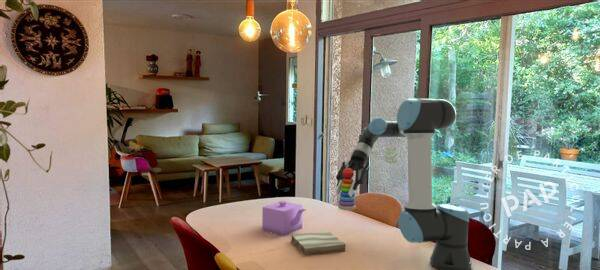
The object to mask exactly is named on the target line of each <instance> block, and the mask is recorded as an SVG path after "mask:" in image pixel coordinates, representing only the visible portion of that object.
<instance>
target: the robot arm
mask: <svg viewBox="0 0 600 270" xmlns="http://www.w3.org/2000/svg"><path fill="white" fill-rule="evenodd" d="M456 119H457V112H456V108H455V106H454V105H453V104H452V103H451V102H450V101H448V100H447V99H441V98H419V97H417V98H416V97H415V98H408V99H405V100H403V101H402V102H401V104H400V105H399V106H398V110H397V113H396V120H394V121H393V120H385V119H384V118H382V117H374V118H373V119H372V120H371V121H370V122H369V123H368V125H367V126H365V127H364V128H363V130H362V131H361V133H360V136H359V137H358V141H357V142H356V145H355V147H354V150H353V151H352V153H351V156H350V159H349V161H348V162H345V161H342V163H341V166H340V168H339V170H338V172H337V174H336V176H335V180H337V183H336V189H335V190H334V192H335V194H336V195H337V196H339V195H340V193H341V188H342V186H341V185H342V183H343V181H342V180H343V179H344V176H343V170H344V169H346V168H351V169H352V170H353V172H355V176H354V177H355V179H354V181H353V183H352V185H351V188H350V190H349V192H348V194H349V196H350V197H352V195H353V192H354V193H355V191H357V188H358V186H360V185H364V182H365V180H366V177H367V174H368V172H369V170H370V168H371V167H370V165H369V164H368V163H367V161H368V158H369V156H370V154H371V151H372V149H373V146H374V145H375V143H376V142H377V141H378V140H379V138H406V139H407V174H408V175H407V179H408V180H407V181H408V182H407V183H408V184H407V186H408V187H407V188H408V191H407V192H408V202H407V203H406V204H405V205H404V211H402V212H400V214H399V216H398V227H399V230H400V233H401V234H402V236H403V238H404V239H405V240H406V241H407V242H408V243H414V244H415V243H418V244H422V243H430V242H431V243H432V242H435V244H434V248H433V249H432V253H431V255H430V258H429V260H430V261H429V262H430V265H431V266H432V267H434V268H436V269H438V270H470V269H471V270H472V264H473V263H472V259H471V255H470V252H469V249H468V244H469V243H468V241H469V223H470V217H469V215H470V214H469V212H468V210H467V209H466V208H463V207H460V206H456V205H451V204H443V203H442V204H441V203H440V204H438V205H437V206H436V204H434V202H433V185H432V183H433V181H432V180H433V178H432V177H433V176H432V175H433V173H432V171H433V170H432V138H433V137H434V136H435V135H436V130H442V129H443V130H444V129H447V128H449V127H451V126H452V125H453V124H454V123H455V121H456ZM366 163H367V164H366Z"/></svg>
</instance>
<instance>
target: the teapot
mask: <svg viewBox="0 0 600 270" xmlns="http://www.w3.org/2000/svg"><path fill="white" fill-rule="evenodd" d="M305 211H307V209H306V208H304V207H303V204H297V203H293V202H290V201H286V200H279V201H277V202H274V203H271V204H267V205H265V206H262V223H261V225H262V227H261V228H262V230H264V231H263V232H265V231H268V232H267V233H269V232H272V233H271V234H274V233H275V234H274V235H278V234H279V235H278V236H282V235H283V236H282V237H285V236H287V235H290V234H292V233H294V232H297V231H299V230H301V229H303V216H304V215H303V212H305ZM296 230H297V231H296ZM289 233H290V234H289Z"/></svg>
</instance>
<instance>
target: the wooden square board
mask: <svg viewBox="0 0 600 270" xmlns="http://www.w3.org/2000/svg"><path fill="white" fill-rule="evenodd" d="M291 242H292V243H293V245H294V246H296V247H297V249H298V250H299V251H300V252H301V253H302V254H303V255H304V256H311V255H319V254H328V253H338V252H339V253H340V252H345V251H346V243H344V241H342V240H341V239H339V238H338V237H337V236H335V234H333V233H331V231H329V230H327V231H316V232H315V231H314V232H307V233H304V232H303V233H295V234H291Z"/></svg>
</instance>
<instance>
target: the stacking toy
mask: <svg viewBox="0 0 600 270" xmlns="http://www.w3.org/2000/svg"><path fill="white" fill-rule="evenodd" d="M354 175H355V171H353V170H352V169H351V168H346V169H344V170H343V176H344V179H343V180H342V181H343V183H342V185H341V186H342V188H341V191H340V193H339V195H340V196H339V200H338V206H337V208H338V209H339V210H342V211H354V210H355V209H356V208H357V205H356V201H355V200H356V197H355V194H356V193H355V191H354V192H353V195H352V197H350V196H349V194H348V192H349V190H350V188H351V185H352V183H353V182H354V178H353V177H354Z"/></svg>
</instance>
